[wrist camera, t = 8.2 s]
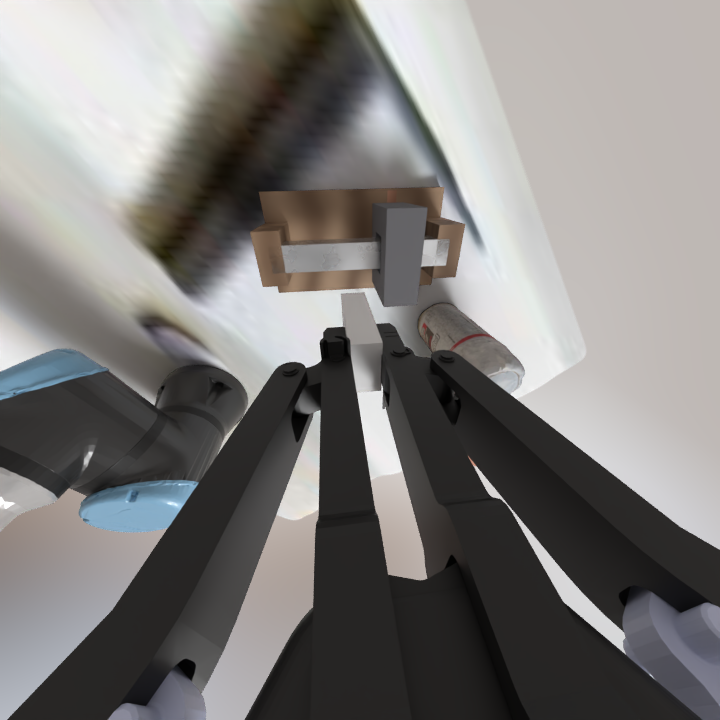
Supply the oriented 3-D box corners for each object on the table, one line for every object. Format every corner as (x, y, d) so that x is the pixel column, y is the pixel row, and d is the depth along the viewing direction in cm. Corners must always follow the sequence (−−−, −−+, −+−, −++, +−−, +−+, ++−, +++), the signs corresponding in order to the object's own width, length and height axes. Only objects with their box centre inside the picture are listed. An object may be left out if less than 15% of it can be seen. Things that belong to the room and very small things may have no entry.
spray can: (424, 296, 44) (481, 362, 28) (468, 302, 46) (547, 368, 29) (411, 339, 49) (453, 418, 32) (451, 343, 50) (512, 421, 34)
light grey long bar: (277, 268, 33) (273, 276, 30) (272, 238, 31) (266, 243, 28) (436, 261, 35) (446, 268, 32) (440, 231, 33) (451, 236, 30)
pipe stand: (280, 289, 41) (269, 313, 33) (261, 191, 34) (241, 193, 26) (428, 281, 43) (450, 303, 35) (440, 187, 36) (471, 187, 28)
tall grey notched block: (371, 281, 39) (383, 306, 31) (372, 203, 33) (387, 208, 25) (398, 279, 39) (417, 304, 31) (403, 202, 33) (427, 207, 25)
